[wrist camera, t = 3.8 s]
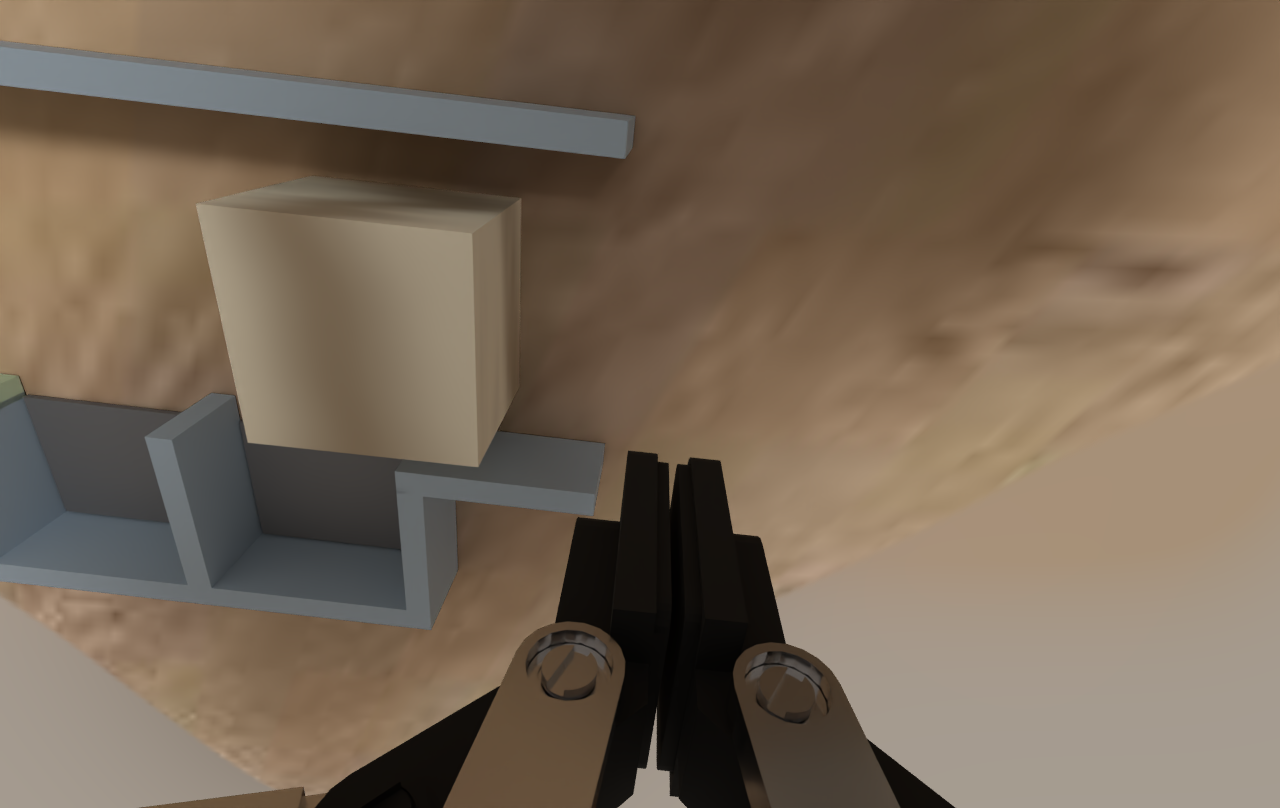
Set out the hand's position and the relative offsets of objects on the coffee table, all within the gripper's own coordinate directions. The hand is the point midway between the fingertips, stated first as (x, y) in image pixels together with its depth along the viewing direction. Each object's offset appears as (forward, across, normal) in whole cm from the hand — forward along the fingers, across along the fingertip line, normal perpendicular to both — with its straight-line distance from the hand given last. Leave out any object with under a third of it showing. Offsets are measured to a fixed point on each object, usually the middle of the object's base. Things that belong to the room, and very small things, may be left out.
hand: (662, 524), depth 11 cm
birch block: (+9, +8, -1) cm, 12 cm away
